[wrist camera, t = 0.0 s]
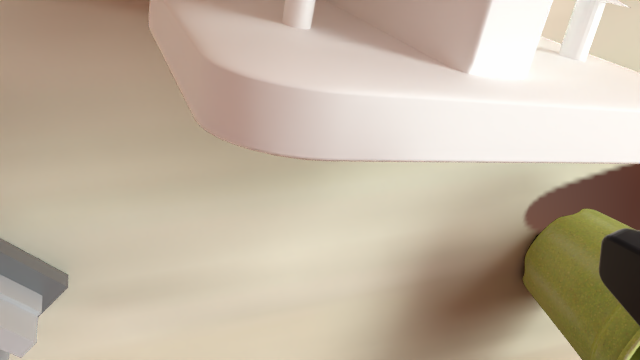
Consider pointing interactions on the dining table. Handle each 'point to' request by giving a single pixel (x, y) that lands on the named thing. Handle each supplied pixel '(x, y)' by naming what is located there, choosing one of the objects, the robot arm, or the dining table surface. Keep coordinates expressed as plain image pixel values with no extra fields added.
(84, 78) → the dining table surface
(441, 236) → the dining table surface
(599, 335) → the plant pot
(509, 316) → the dining table surface
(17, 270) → the cord comb board
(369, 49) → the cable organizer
